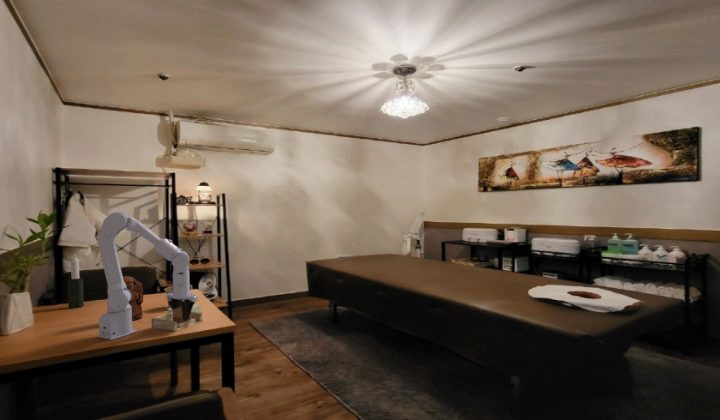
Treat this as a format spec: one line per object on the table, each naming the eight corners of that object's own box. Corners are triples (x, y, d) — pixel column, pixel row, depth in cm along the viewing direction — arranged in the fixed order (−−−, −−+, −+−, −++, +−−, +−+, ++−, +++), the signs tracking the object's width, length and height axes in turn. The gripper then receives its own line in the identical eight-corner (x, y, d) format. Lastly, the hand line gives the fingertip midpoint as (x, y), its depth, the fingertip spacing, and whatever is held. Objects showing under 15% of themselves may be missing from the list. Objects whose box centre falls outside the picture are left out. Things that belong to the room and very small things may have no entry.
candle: (71, 306, 174) (69, 253, 173) (84, 305, 176) (82, 252, 176) (67, 309, 169) (66, 254, 169) (81, 307, 171) (80, 254, 171)
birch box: (174, 331, 134) (174, 322, 134) (151, 328, 139) (151, 319, 139) (202, 321, 146) (202, 312, 146) (180, 318, 151) (180, 309, 151)
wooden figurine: (112, 325, 143) (111, 279, 143) (107, 322, 147) (106, 277, 147) (145, 318, 152) (144, 274, 152) (139, 315, 156) (138, 273, 156)
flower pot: (191, 304, 173) (191, 286, 173) (180, 309, 164) (179, 290, 164) (172, 304, 174) (172, 285, 174) (160, 309, 165) (159, 290, 165)
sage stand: (183, 318, 151) (183, 310, 151) (167, 316, 155) (167, 309, 154) (200, 312, 159) (200, 305, 159) (185, 310, 163) (185, 303, 163)
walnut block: (180, 323, 139) (180, 310, 138) (172, 322, 140) (172, 309, 140) (191, 319, 143) (191, 306, 143) (183, 318, 145) (183, 305, 145)
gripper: (203, 282, 142) (204, 317, 142) (176, 280, 148) (177, 313, 148) (188, 286, 136) (189, 323, 136) (160, 283, 142) (161, 319, 142)
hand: (182, 318), depth 142 cm, fingers closed on walnut block, 4 cm apart
